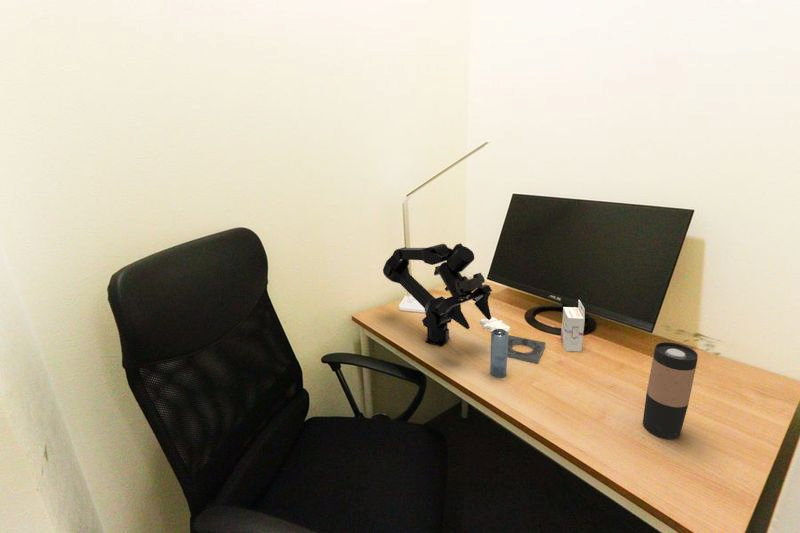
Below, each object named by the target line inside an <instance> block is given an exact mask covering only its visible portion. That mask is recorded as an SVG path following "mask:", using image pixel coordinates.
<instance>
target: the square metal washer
mask: <svg viewBox="0 0 800 533" xmlns="http://www.w3.org/2000/svg"><path fill="white" fill-rule="evenodd" d="M520 345H522V346H526V347H528V348H531V349H532V350H531V351H529V352H521V351H517V350H515V349H513V347H514V346H520ZM545 347H546V342H544V341H540V340H534V339H531V338H530V339H529V338H525V337H520V336H516V335H511V334H508V351H507V358H511V359H514V360H518V361H524V362H527V363H532V364H537V365H538V364H539V362H540V359H541V358H542V355H543V353H544V350H545Z"/></svg>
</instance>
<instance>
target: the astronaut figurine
mask: <svg viewBox="0 0 800 533" xmlns="http://www.w3.org/2000/svg"><path fill="white" fill-rule="evenodd" d="M479 323H480V324H481V325H482V328H483V329H485V330H486V329H489V330H490V333H491V332H492V331H493V330H495V329H503V330H505V331H507V332H508V334H510V330H511V326H509V325H507V324H505V323H504V322H503V320H500V319H499V320H498V319H497V318H496V317H493V316H491V319H490V320H488V319H487V318H484V319H483V318H481V319H480V320H479Z"/></svg>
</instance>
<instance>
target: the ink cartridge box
mask: <svg viewBox="0 0 800 533" xmlns="http://www.w3.org/2000/svg"><path fill="white" fill-rule="evenodd" d="M577 304H578V307H575V306H573V307H571V306H563V307H562V308H563V309H562V321H561V330H560V340H561V342H562V344H563V347H564V350H565V352H579V353H580V352H582V349H583V342H584V340H583V339H584V332H585V331H584V330H585V322H586V320H585V319H586V317H585V316H586V315H585V314H586V311H585V310H586V309H585V307H584V305H583V303H582V301H581V300H580V299H578V303H577Z"/></svg>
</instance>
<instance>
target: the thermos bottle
mask: <svg viewBox="0 0 800 533" xmlns="http://www.w3.org/2000/svg"><path fill="white" fill-rule="evenodd" d="M490 333H491V334H490V336H491V337H490V359H489V360H490V362H489V364H490V365H489V366H490V367H489V374H490V376H492V377H493V378H496V379H503V378H506V376H507V372H508V371H507V368H508V357H507V351H508V335H509V333H508V332H507V331H505V330H503V329H495V330H493V331H492V332H490Z"/></svg>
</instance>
